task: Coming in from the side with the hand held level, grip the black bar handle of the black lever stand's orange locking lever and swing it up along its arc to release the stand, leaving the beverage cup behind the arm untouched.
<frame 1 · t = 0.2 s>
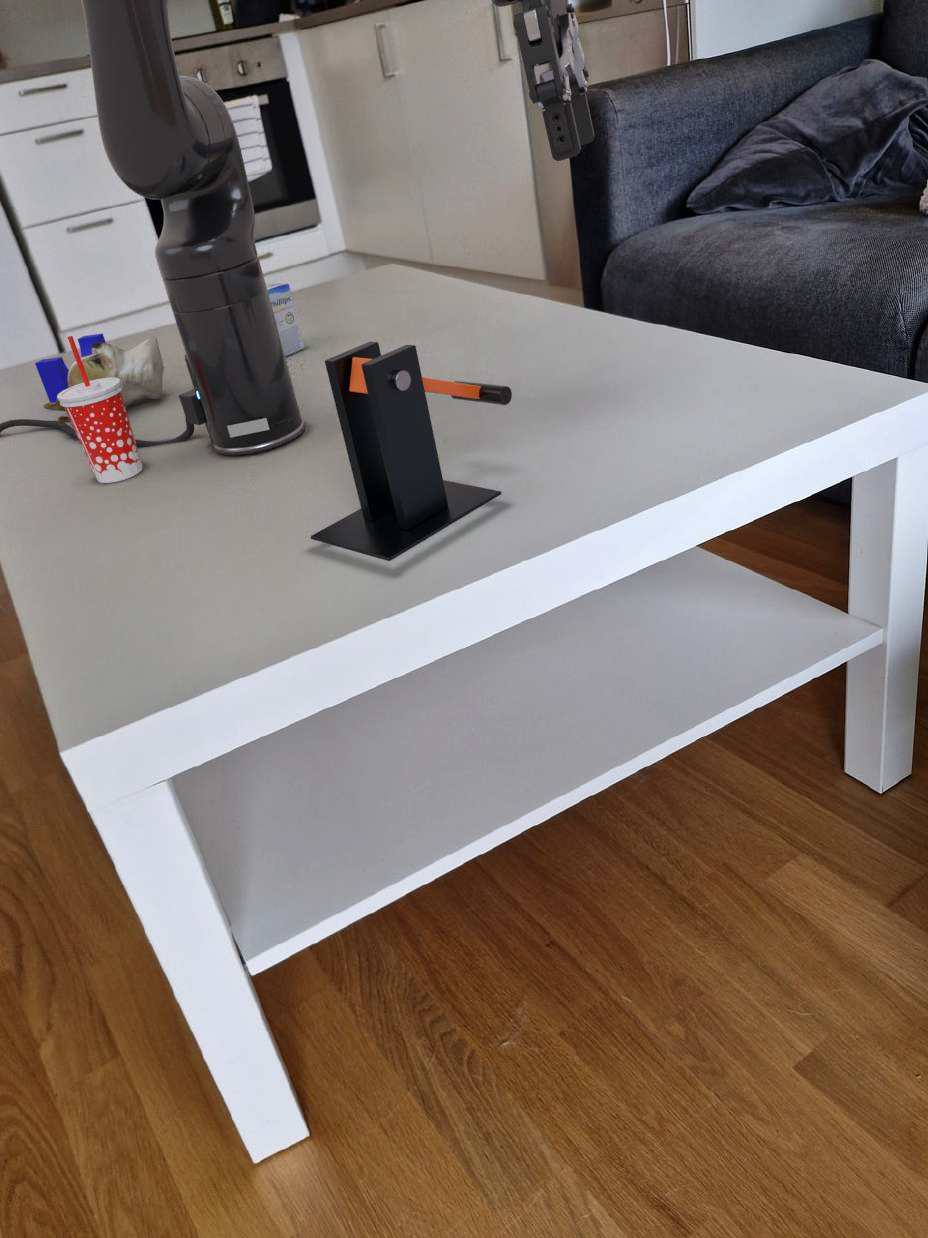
hand: (575, 150, 84), 22 cm above the table, tool pointing down, fingers open, 8 cm apart
clamp lever: (427, 384, 78), point 10 cm above the table, hinge at -25.0°
medicine box: (275, 353, 138), on the table
black lever stand: (409, 528, 80), on the table
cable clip: (81, 394, 138), on the table
ceramic sculpture: (117, 413, 126), on the table
beverage cup: (120, 475, 105), on the table
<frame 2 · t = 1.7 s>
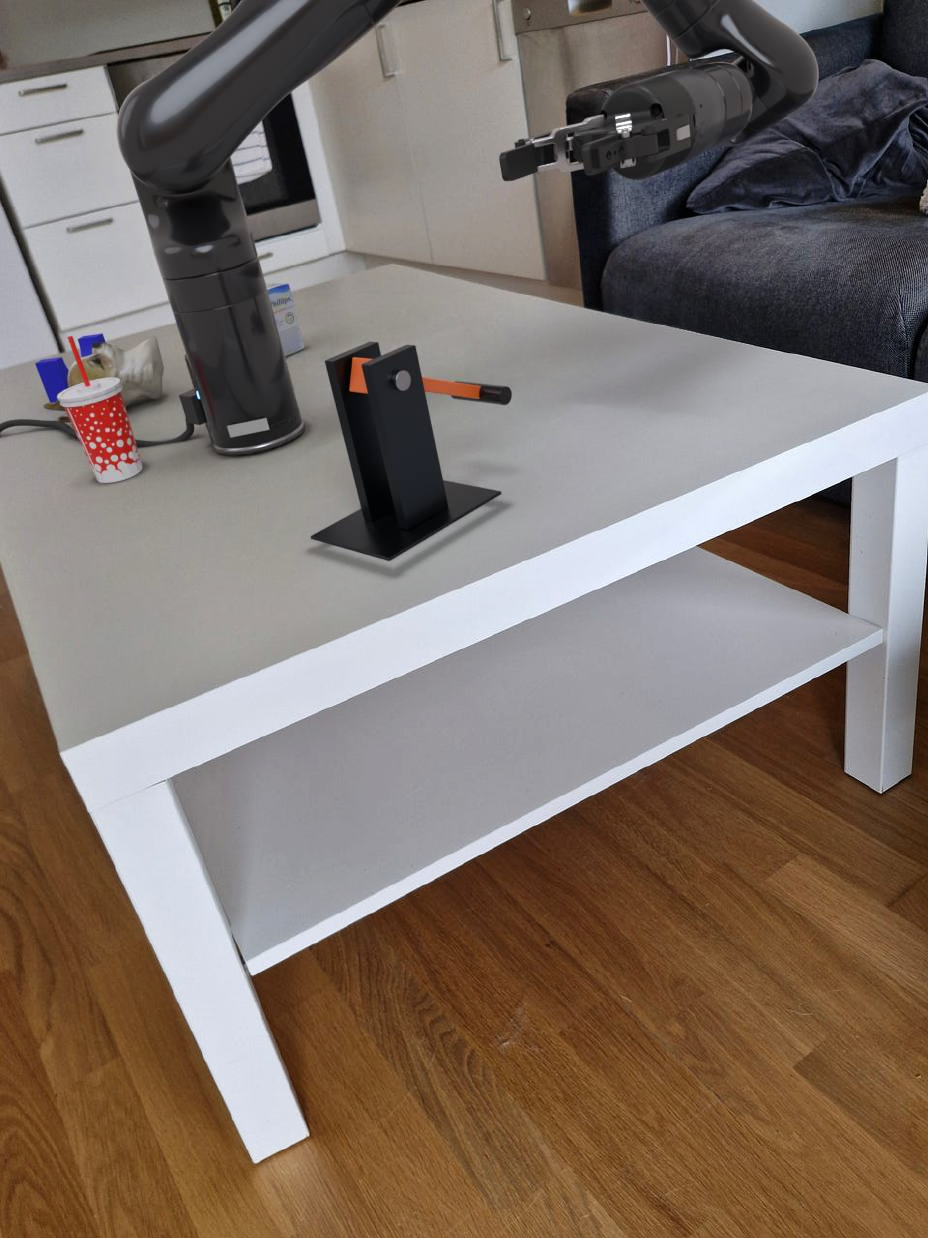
hand: (543, 164, 81), 22 cm above the table, tool horizontal, fingers open, 8 cm apart
nothing on the table moved.
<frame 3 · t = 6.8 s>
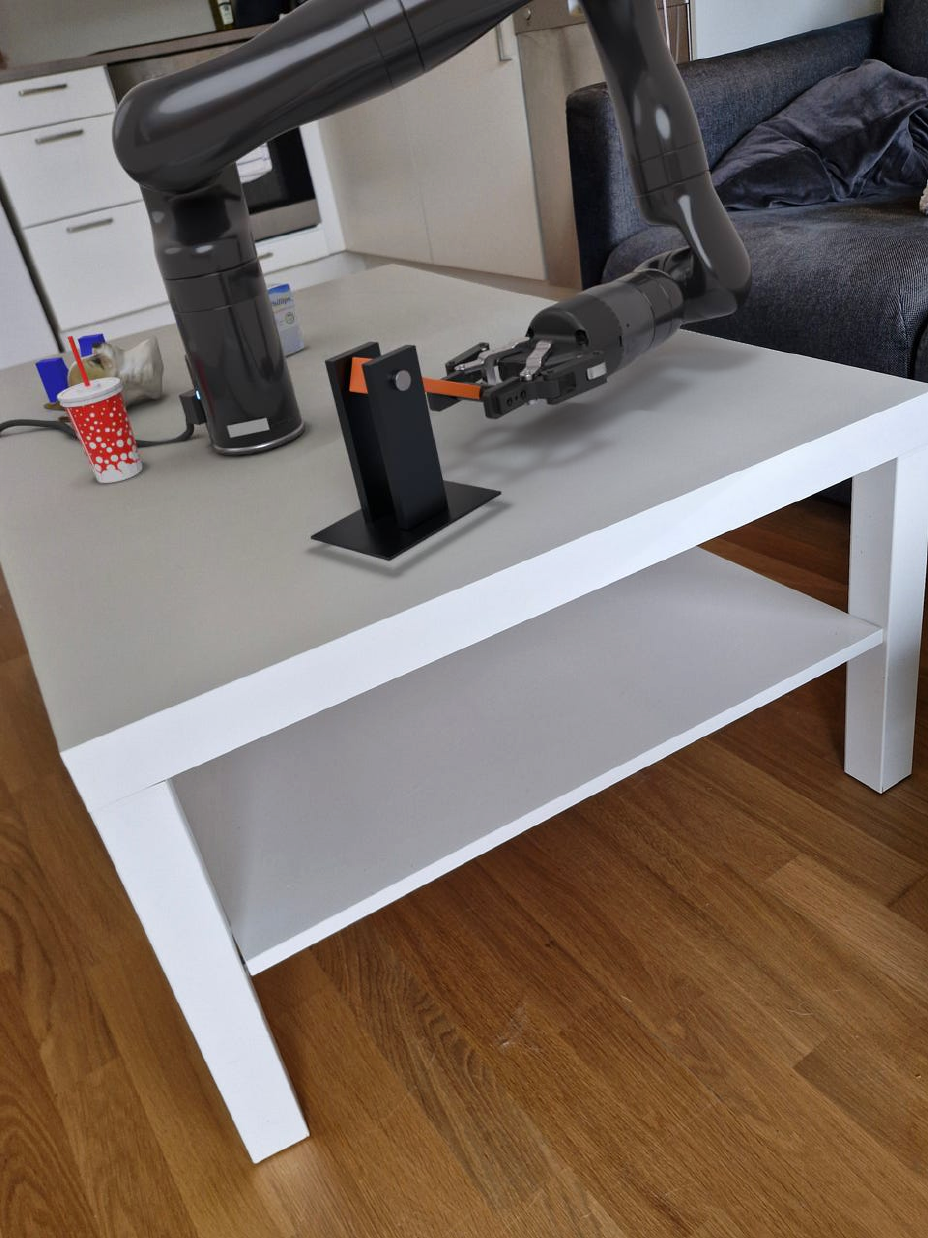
hand: (459, 403, 80), 7 cm above the table, tool horizontal, fingers closed on clamp lever, 5 cm apart
clamp lever: (427, 385, 78), point 10 cm above the table, hinge at -25.0°, touching gripper
everything else where it was.
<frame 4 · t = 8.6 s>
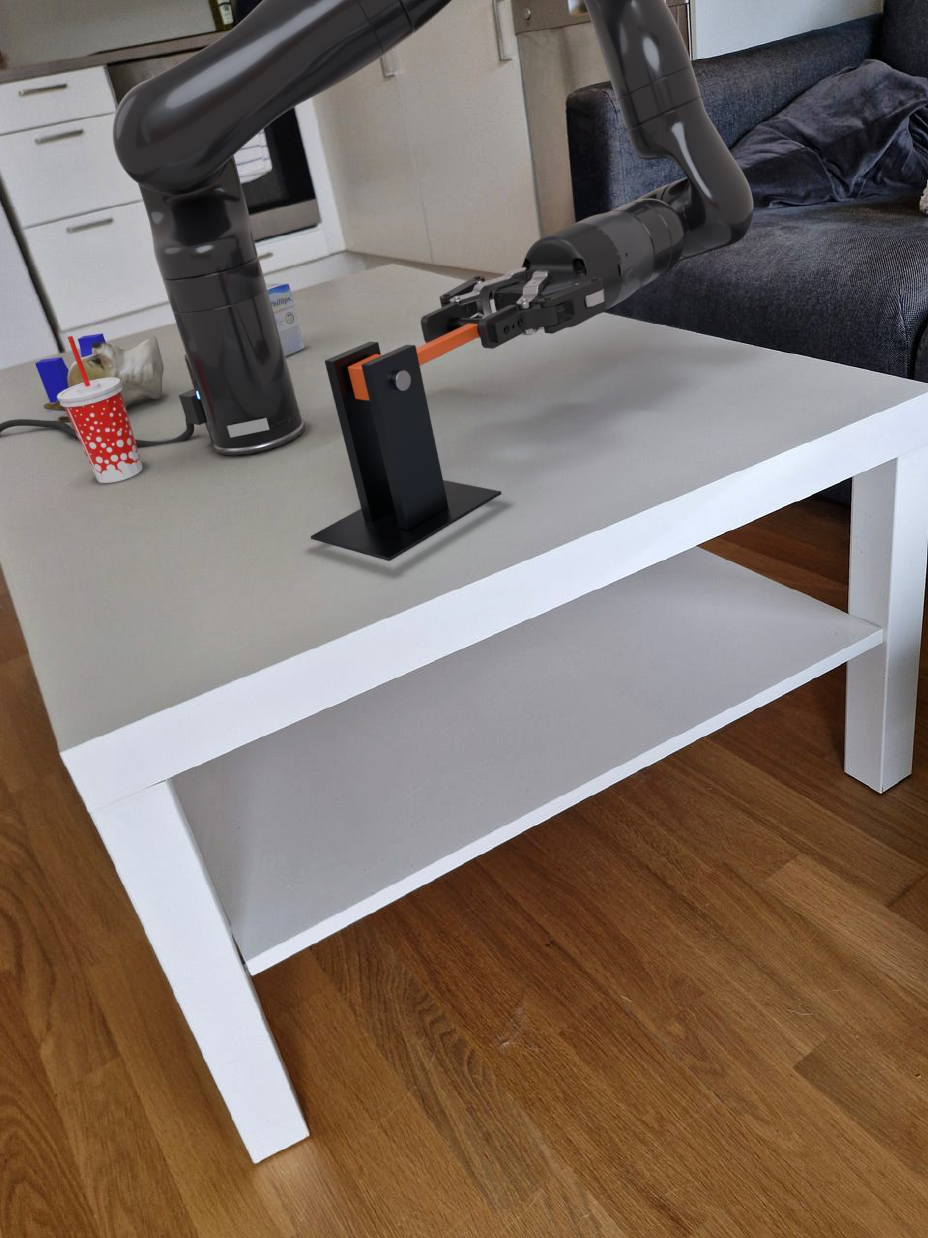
hand: (454, 333, 78), 13 cm above the table, tool horizontal, fingers closed on clamp lever, 5 cm apart
clamp lever: (425, 353, 77), point 12 cm above the table, hinge at 1.1°, touching gripper
everything else where it was.
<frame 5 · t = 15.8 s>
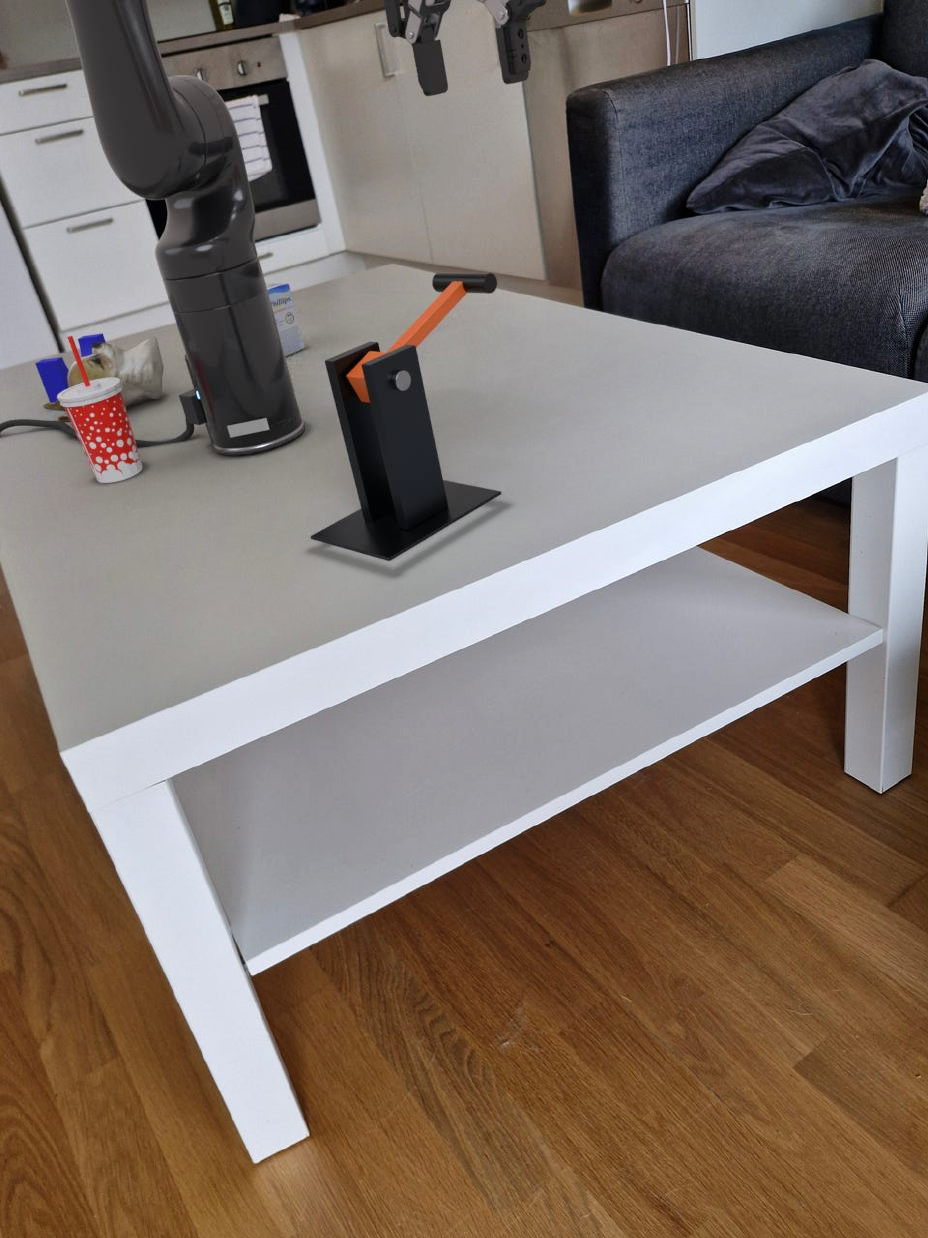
hand: (475, 88, 80), 28 cm above the table, tool pointing down, fingers open, 8 cm apart
clamp lever: (418, 331, 76), point 14 cm above the table, hinge at 20.3°
everything else where it was.
at the end: clamp lever at +20° (first picture: -25°); beverage cup moved 0.2 cm from its start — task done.
